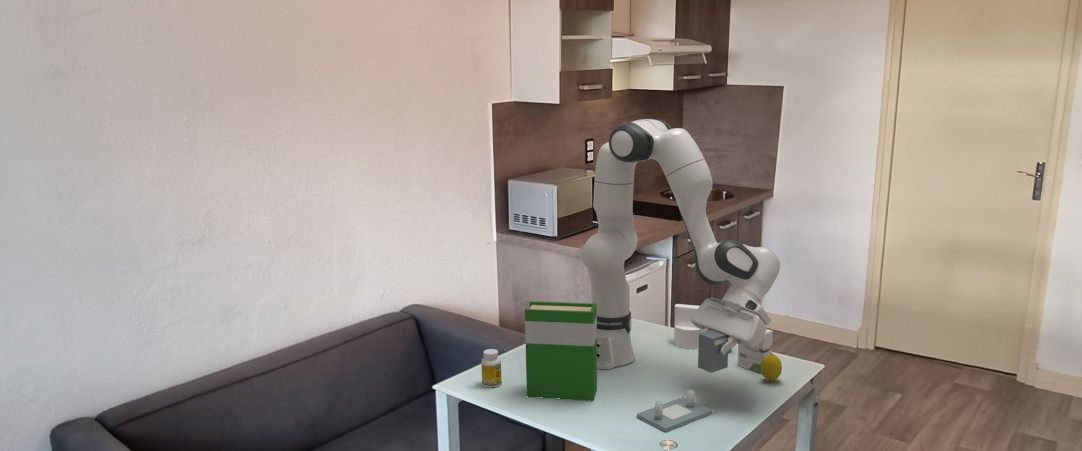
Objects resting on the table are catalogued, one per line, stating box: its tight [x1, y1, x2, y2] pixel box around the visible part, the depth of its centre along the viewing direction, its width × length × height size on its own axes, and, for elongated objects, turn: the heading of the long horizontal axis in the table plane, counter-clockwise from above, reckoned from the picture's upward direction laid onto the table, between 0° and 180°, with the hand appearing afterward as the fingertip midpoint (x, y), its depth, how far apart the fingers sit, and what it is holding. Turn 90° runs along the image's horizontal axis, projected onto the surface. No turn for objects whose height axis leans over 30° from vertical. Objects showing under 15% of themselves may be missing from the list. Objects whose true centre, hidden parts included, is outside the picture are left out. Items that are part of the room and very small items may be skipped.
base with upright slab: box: [673, 303, 703, 350], centre depth 244 cm, size 9×9×12 cm
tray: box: [636, 389, 713, 433], centre depth 196 cm, size 16×10×5 cm, turn 126°
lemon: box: [760, 352, 783, 382], centre depth 215 cm, size 6×6×8 cm
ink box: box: [737, 329, 774, 374], centre depth 225 cm, size 9×5×12 cm, turn 39°
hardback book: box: [524, 300, 598, 402], centre depth 209 cm, size 18×7×24 cm, turn 80°
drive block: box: [697, 330, 729, 374], centre depth 201 cm, size 6×5×9 cm
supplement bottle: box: [480, 348, 503, 388], centre depth 217 cm, size 5×5×10 cm
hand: (711, 349), depth 200 cm, fingers closed on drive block, 4 cm apart
